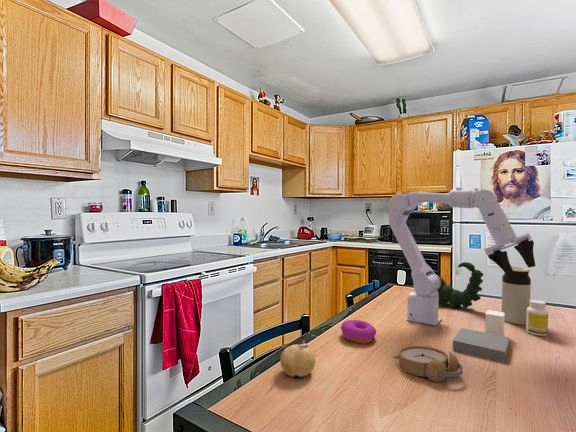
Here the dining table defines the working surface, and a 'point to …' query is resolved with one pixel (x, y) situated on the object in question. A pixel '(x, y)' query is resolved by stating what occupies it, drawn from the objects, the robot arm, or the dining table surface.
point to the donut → (358, 331)
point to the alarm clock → (428, 363)
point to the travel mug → (516, 295)
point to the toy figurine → (464, 297)
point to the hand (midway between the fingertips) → (521, 270)
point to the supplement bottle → (537, 318)
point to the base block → (481, 344)
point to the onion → (297, 360)
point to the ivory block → (494, 322)
